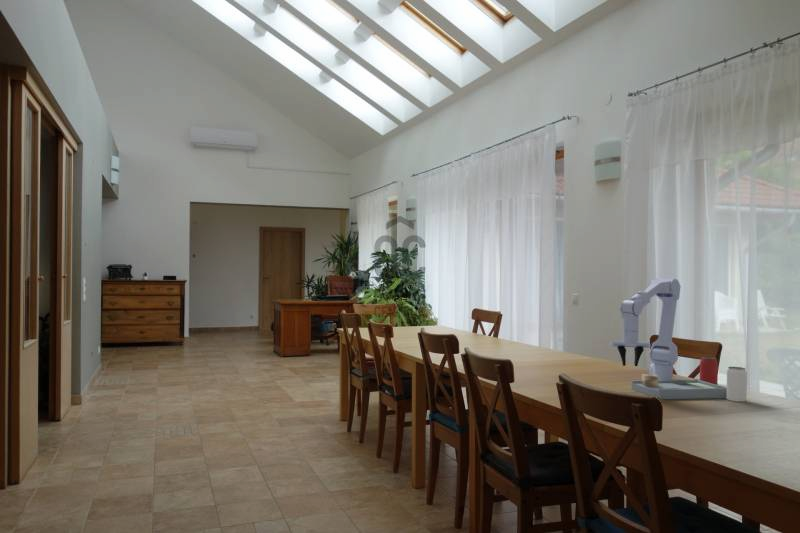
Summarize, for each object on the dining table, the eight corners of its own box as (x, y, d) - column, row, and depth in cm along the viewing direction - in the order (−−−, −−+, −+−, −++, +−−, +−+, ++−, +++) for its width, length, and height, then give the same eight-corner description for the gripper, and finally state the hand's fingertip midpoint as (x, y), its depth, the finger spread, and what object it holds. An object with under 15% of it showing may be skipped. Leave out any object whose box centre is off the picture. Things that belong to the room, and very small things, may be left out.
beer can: (695, 385, 257) (696, 356, 257) (707, 384, 260) (707, 356, 260) (709, 388, 251) (710, 359, 251) (721, 387, 254) (721, 358, 254)
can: (741, 399, 231) (742, 366, 231) (749, 402, 225) (750, 369, 225) (723, 398, 232) (724, 366, 232) (730, 401, 225) (731, 368, 225)
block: (644, 386, 239) (644, 376, 239) (641, 384, 244) (641, 373, 244) (658, 387, 238) (658, 376, 238) (654, 384, 243) (654, 374, 243)
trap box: (631, 389, 246) (631, 380, 246) (697, 388, 252) (697, 379, 252) (660, 399, 228) (660, 389, 228) (730, 397, 233) (730, 388, 233)
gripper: (613, 331, 239) (612, 366, 239) (652, 332, 237) (652, 368, 237) (609, 329, 246) (609, 363, 246) (648, 330, 244) (647, 365, 244)
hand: (629, 365), depth 242 cm, fingers open, 4 cm apart
